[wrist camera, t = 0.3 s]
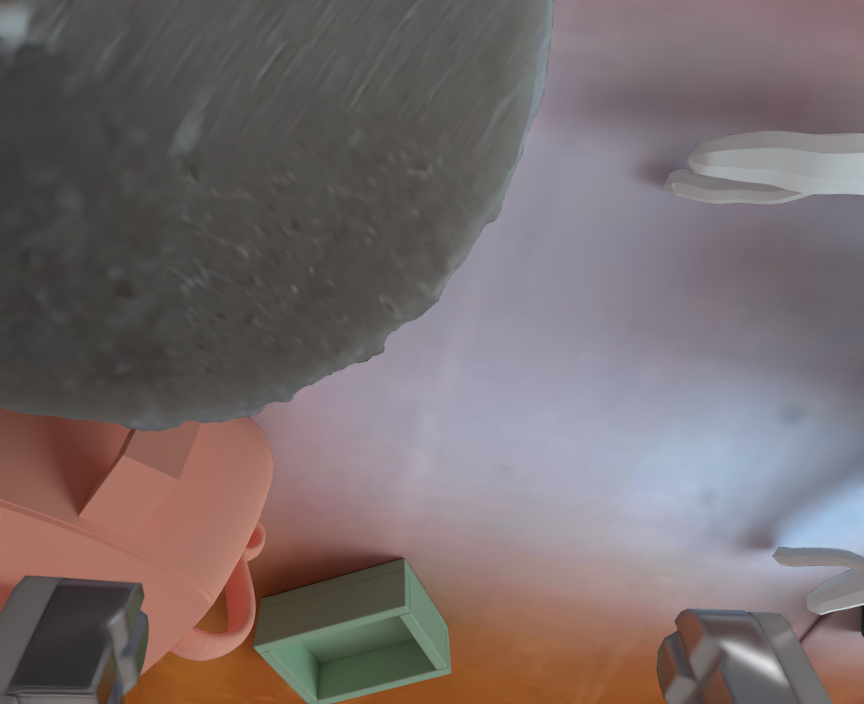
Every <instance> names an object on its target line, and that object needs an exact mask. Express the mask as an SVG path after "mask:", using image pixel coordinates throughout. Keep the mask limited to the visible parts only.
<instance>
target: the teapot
mask: <svg viewBox="0 0 864 704" xmlns="http://www.w3.org/2000/svg"><path fill="white" fill-rule="evenodd" d="M273 473H274V459H273V454H272V450H271V446H270V443H269V441H268V438H267V436H266V434H265V432H264V431H263V430H262V429H261V428H260V427H259V426H258V425H257V424H256V423H255V422H254V421H253V420H252V419H250V418H249V417H247V418H239V419H238V418H235V419H232V420H229V421H225V422H222V423H217V422H212V423H200V422H196V421H186V422H184V423H182V424H181V425H180V426H179V427H178V428H174V427H173V428H170V429H167V430H163V431H140V430H138V429H133V428H132V429H128V428H126V427H124V426H122V425H120V424H115V423H103V422H98V421H92V420H71V419H65V418H62V417H58V416H44V415H34V414H26V413H18V412H16V411H13V410H10V409H4V408H0V612H1V610H2V609H3V607H4V605H5V603H6V601H7V599H8V598H9V596H10V594H11V592H12V590H13V588H14V587H15V586H16V585H17V584H18V583H19V582H20V581H21V580H22V579H23V578H24V576H25V575H26V576H47V577H66V578H76V579H93V580H110V581H127V582H142V586H143V591H144V596H145V597H144V600H143V603H142V606H141V609H140V610H141V611H143V612H144V613H145V614H146V615H148V622H149V639H148V645H147V651H146V656H145V661H144V665H143V668H142V671H141V675H142V674H143V673H144V672H146V671H147V670H148V669H149V668H150V667H151V666H153V665H154V664H155V663H156V662H157V661H158V660H159V659H160V658H161V657H162V656H163V655H164V654H166V653H167V652H168V651H171V652H173V653H175V654H176V655H178V656H180V657H183V658H186V659H189V660H198V661H202V660H210V659H214V658H218V657H220V656H223V655H225V654H227V653H229V652H230V651H232V650H234V649H235V648H236V647H237V646H239V645H240V644H241V643H242V642H243V641H244V640H245V638H246V637H247V636H248V634H249V633H250V630H251V628H252V626H253V623H254V619H255V609H256V607H255V595H254V589H253V584H252V580H251V576H250V572H249V568H248V564H247V561H250V560H252V559H253V558H255V557H257V556H258V555H259V553H260V552H261V550H262V549H263V546H264V543H265V537H266V535H265V530H264V527H263V525H262V524H261V523H260V521H259V517H260V515H261V512H262V509H263V507H264V504H265V501H266V498H267V495H268V492H269V489H270V485H271V481H272V477H273ZM223 588H224V590H225V595H226V601H227V608H228V626H227V630H226V632H224V633H210V632H206V631H203V630H201V629H198V628H196V627H194V626H195V625H196V624H197V623H198V622H199V621H200V619H201V618H202V617H203V616H204V615H205V614H206V613H207V611H208V610H209V609H210V608H211V606H212V605H213V603H214V602H215V600H216V599H217V597H218V596H219V594H220V592H221V591H222V589H223ZM141 675H140V676H141Z"/></svg>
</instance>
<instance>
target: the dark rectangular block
mask: <svg viewBox="0 0 864 704" xmlns="http://www.w3.org/2000/svg"><path fill="white" fill-rule="evenodd" d="M861 633H862V635H863V637H864V605H862V632H861Z"/></svg>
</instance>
